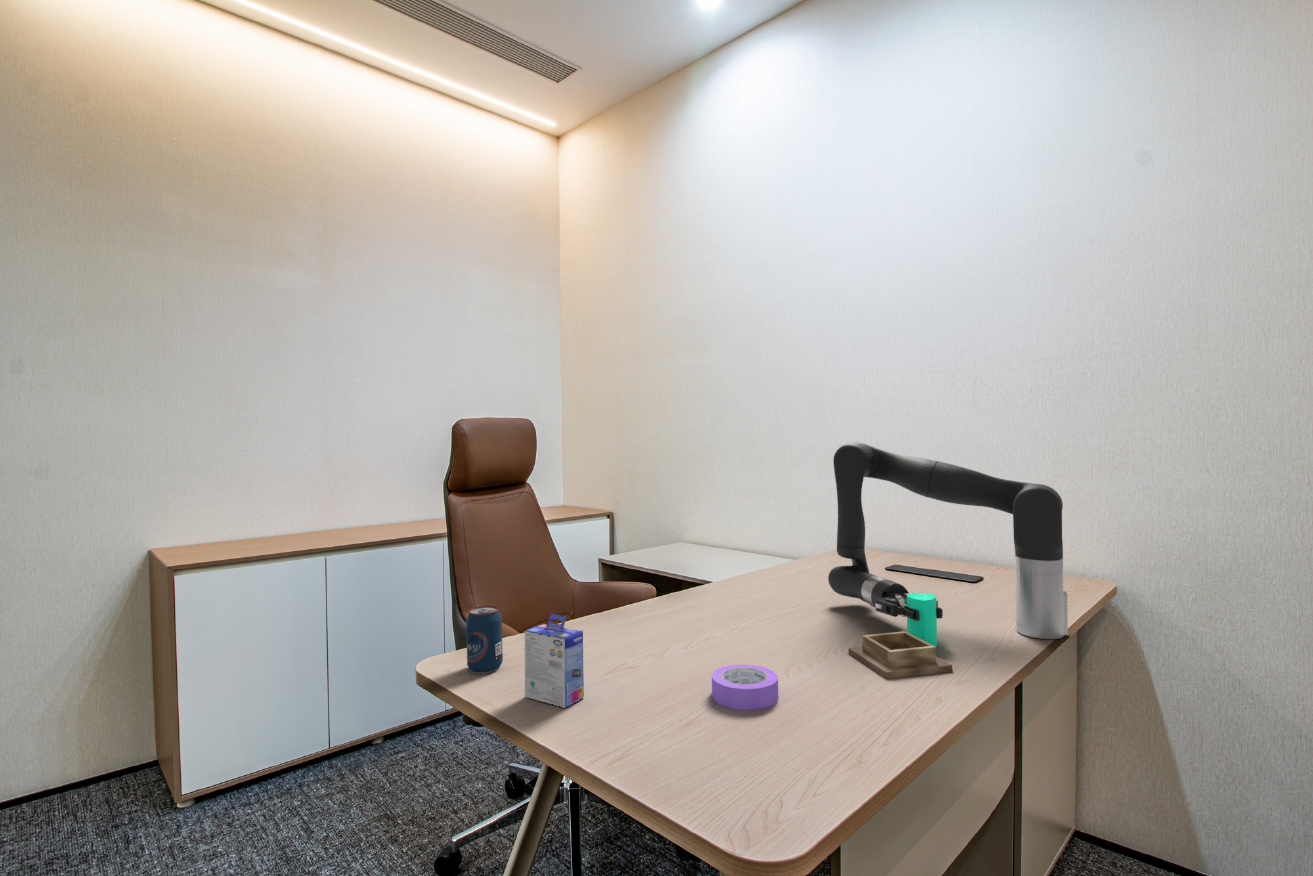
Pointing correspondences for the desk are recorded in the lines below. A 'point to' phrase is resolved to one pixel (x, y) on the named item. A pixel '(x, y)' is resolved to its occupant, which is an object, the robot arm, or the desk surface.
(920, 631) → the candle
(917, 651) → the candle holder
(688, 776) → the desk surface
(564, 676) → the ink cartridge box
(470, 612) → the soda can
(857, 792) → the desk surface
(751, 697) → the masking tape
